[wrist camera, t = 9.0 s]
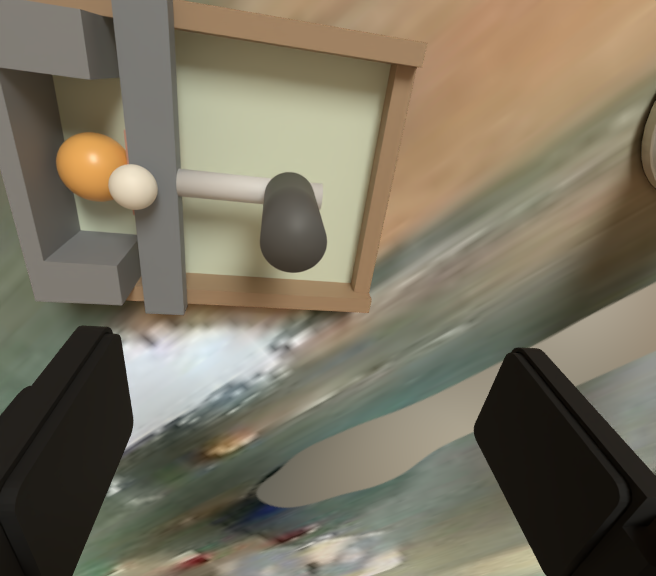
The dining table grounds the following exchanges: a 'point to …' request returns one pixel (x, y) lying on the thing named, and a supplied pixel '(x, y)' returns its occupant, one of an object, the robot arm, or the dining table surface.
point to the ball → (89, 164)
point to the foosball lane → (205, 148)
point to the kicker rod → (174, 183)
